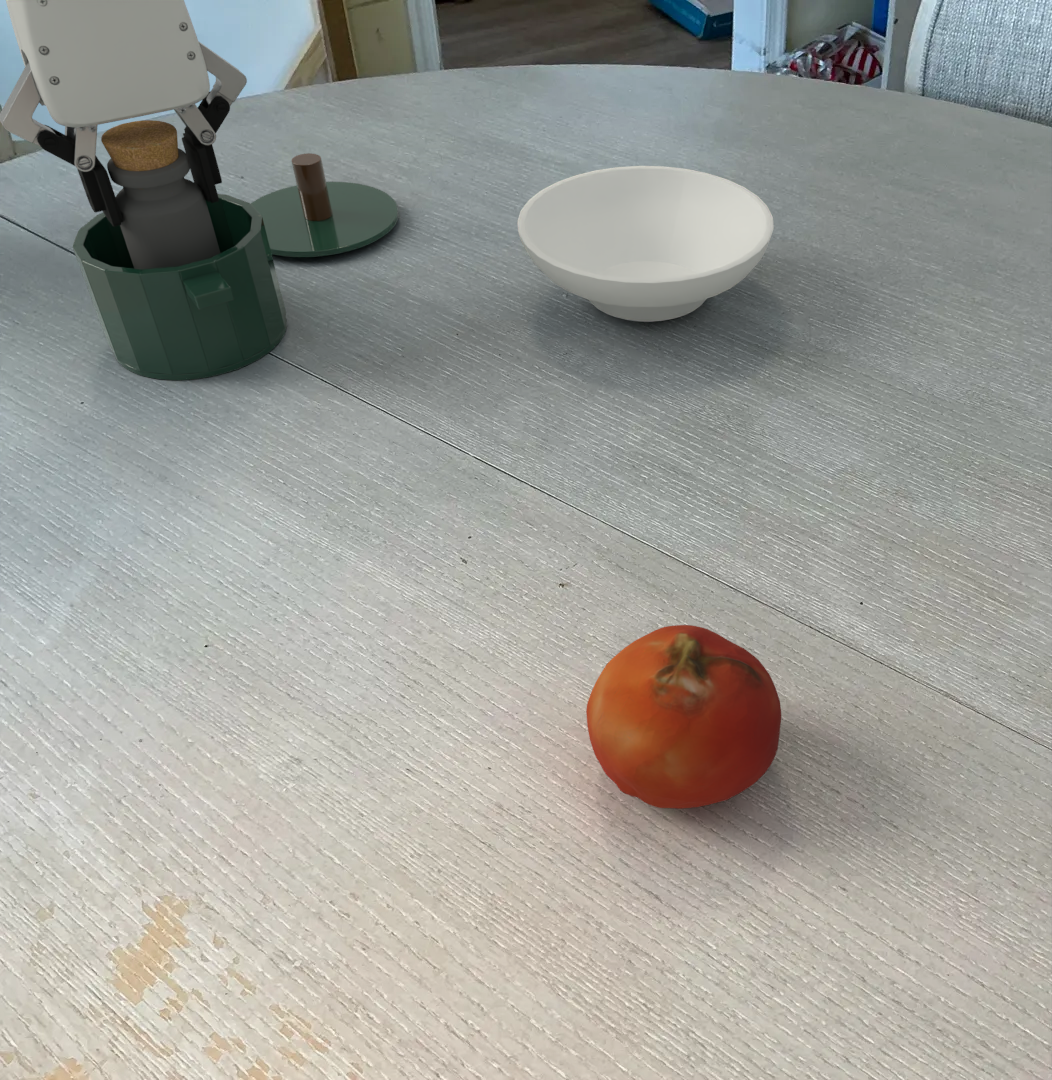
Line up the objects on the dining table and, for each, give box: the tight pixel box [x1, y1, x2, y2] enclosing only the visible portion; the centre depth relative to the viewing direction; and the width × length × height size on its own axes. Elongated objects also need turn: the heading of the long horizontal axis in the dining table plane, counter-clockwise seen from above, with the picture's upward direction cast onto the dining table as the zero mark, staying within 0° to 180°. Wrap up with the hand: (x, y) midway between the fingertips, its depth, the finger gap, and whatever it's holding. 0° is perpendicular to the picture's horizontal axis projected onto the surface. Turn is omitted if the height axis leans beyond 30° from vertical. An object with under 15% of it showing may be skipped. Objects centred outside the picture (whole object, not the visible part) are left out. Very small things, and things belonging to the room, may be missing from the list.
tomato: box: [585, 624, 782, 810], centre depth 57 cm, size 9×9×8 cm
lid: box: [250, 152, 400, 258], centre depth 100 cm, size 13×13×6 cm
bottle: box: [100, 119, 220, 269], centre depth 83 cm, size 6×6×15 cm
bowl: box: [516, 165, 775, 323], centre depth 92 cm, size 20×20×7 cm
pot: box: [72, 193, 288, 381], centre depth 86 cm, size 12×18×8 cm
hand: (160, 204), depth 82 cm, fingers closed on bottle, 5 cm apart
